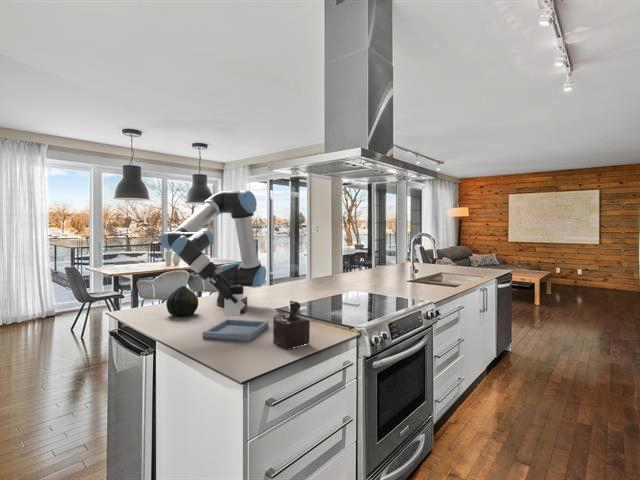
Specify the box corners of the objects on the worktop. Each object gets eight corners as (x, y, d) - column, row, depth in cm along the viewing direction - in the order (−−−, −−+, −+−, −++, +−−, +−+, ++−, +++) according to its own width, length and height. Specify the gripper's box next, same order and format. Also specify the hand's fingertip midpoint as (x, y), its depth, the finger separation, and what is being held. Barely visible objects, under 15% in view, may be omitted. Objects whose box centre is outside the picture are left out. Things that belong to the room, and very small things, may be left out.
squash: (176, 309, 170) (192, 282, 179) (155, 307, 178) (171, 281, 186) (194, 324, 180) (209, 298, 188) (174, 321, 187) (189, 296, 195)
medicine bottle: (240, 316, 148) (240, 287, 147) (224, 315, 149) (224, 286, 148) (247, 312, 154) (247, 284, 154) (231, 311, 156) (231, 283, 155)
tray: (226, 324, 164) (226, 319, 164) (268, 327, 160) (268, 321, 160) (202, 338, 145) (202, 332, 145) (249, 342, 141) (249, 335, 140)
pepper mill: (270, 343, 139) (270, 296, 139) (295, 337, 146) (294, 293, 145) (293, 354, 127) (293, 303, 126) (318, 348, 134) (318, 299, 133)
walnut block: (275, 324, 165) (275, 313, 165) (288, 325, 165) (288, 313, 165) (273, 328, 159) (273, 317, 159) (287, 328, 159) (287, 317, 159)
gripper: (203, 270, 160) (240, 305, 162) (191, 277, 139) (234, 317, 141) (215, 258, 160) (252, 293, 163) (205, 263, 139) (248, 304, 141)
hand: (244, 305), depth 152 cm, fingers closed on medicine bottle, 9 cm apart
